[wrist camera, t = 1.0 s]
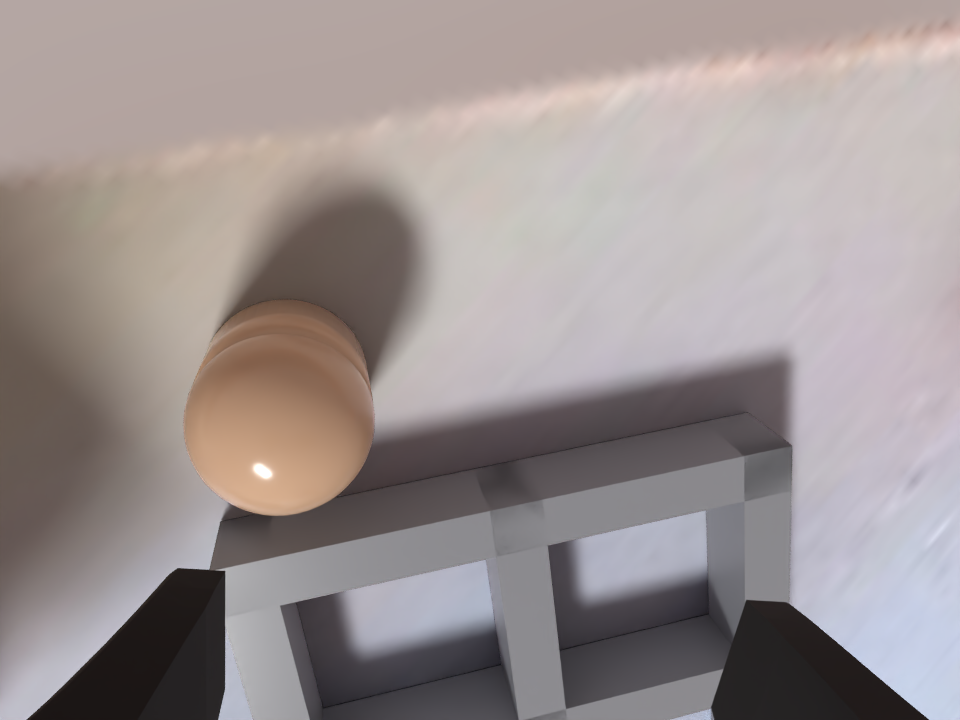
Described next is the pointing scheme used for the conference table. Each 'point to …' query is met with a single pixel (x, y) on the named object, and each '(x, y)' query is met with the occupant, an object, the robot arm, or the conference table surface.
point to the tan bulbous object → (280, 409)
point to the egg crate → (522, 575)
